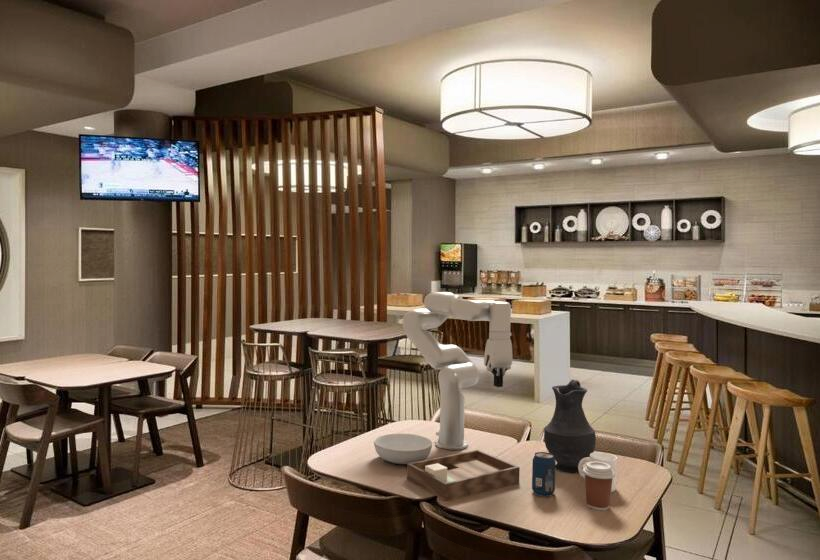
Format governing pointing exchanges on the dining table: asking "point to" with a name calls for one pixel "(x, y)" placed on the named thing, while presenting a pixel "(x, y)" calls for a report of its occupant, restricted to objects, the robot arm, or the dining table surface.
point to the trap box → (464, 474)
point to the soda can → (543, 474)
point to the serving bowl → (402, 447)
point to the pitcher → (569, 429)
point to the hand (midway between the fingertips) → (498, 386)
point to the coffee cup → (598, 484)
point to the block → (437, 471)
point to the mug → (603, 458)
